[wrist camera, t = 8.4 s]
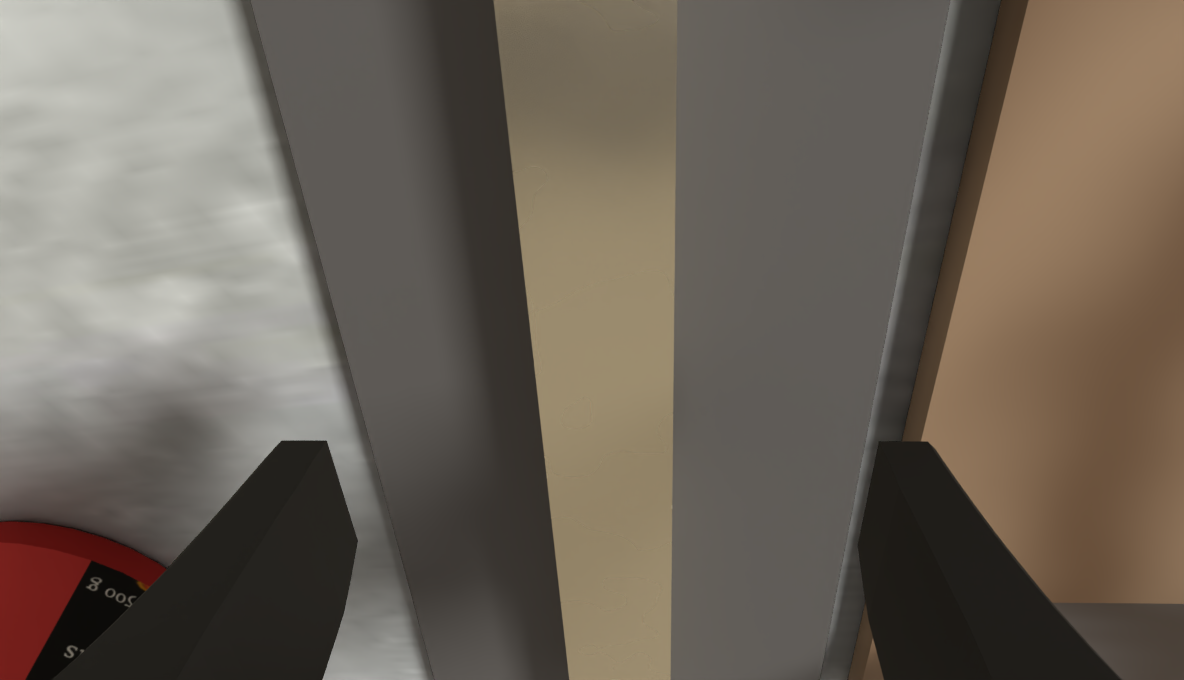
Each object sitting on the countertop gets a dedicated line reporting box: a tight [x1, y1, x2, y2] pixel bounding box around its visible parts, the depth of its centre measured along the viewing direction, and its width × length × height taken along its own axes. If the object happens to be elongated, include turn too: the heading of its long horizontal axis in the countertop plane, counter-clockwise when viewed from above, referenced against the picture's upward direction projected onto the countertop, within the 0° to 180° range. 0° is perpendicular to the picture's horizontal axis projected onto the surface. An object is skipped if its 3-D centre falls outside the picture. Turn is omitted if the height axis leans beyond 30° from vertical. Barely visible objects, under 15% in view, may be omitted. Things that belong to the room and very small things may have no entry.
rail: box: [493, 0, 677, 680], centre depth 16 cm, size 2×25×2 cm, turn 2°
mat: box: [250, 0, 950, 680], centre depth 17 cm, size 10×28×1 cm, turn 2°
